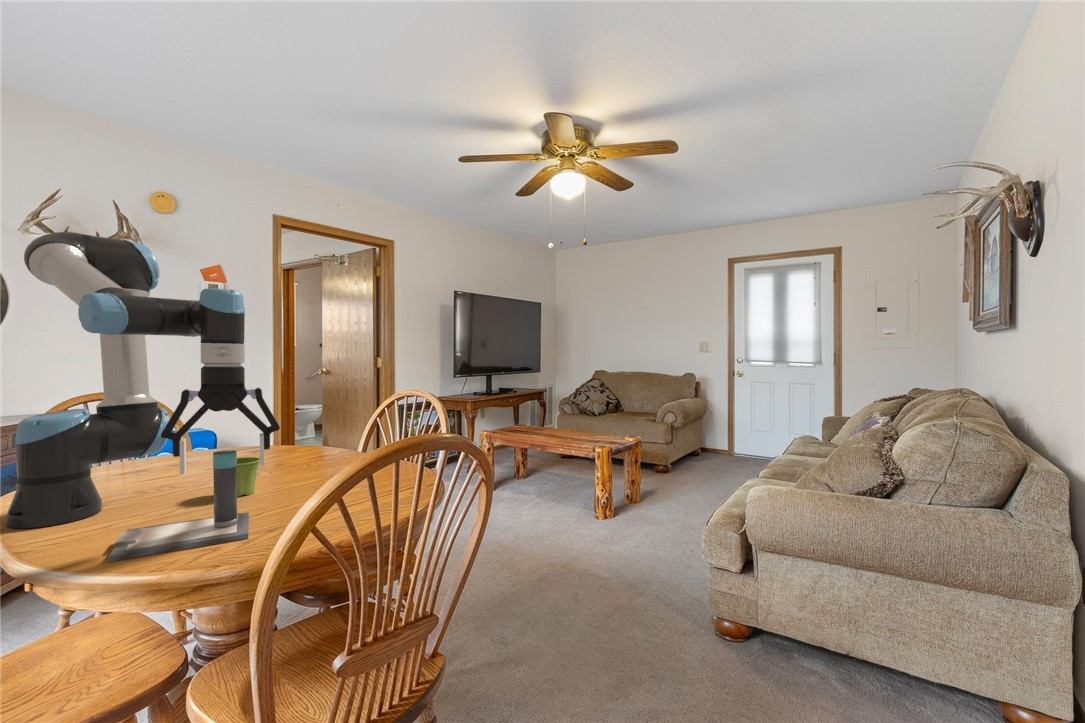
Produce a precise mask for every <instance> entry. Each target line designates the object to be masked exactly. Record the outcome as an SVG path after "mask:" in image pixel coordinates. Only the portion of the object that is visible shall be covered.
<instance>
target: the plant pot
mask: <svg viewBox="0 0 1085 723" xmlns="http://www.w3.org/2000/svg"><path fill="white" fill-rule="evenodd" d="M258 467H260V457H257V456H242V457H241V456H239V457H237V498H239V497H242V496H243V495H246V496H249V495H251V494H254V492H255V486H256V480H257V473H258Z"/></svg>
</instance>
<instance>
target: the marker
mask: <svg viewBox="0 0 1085 723" xmlns="http://www.w3.org/2000/svg"><path fill="white" fill-rule="evenodd" d="M237 452H238V451H237V450H234V449H224V450H218V451H213V453H212V468H213V517H214V527H215V528H227V527H231V526H234V525H236V524H237V514H238V497H237V458H238V454H237Z"/></svg>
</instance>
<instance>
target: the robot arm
mask: <svg viewBox="0 0 1085 723" xmlns="http://www.w3.org/2000/svg"><path fill="white" fill-rule="evenodd" d="M23 261H24V264H25V266H26V268H27V270H28V271H29V272H30V273H31V275H33V276H34V277H35V278H36V279H37V280H39V281H41V282H42V283H45V284H46V285H51V286H54V287H56V288H57V290H59V291H60V292H61V293H63V294H64V295H65V296H66V297H67V298H69V300H72V301H73V303H75V304H76V305H77V306H78V310H77V311H78V313H77V315H78V320H79V322H80V324H81V325H80V326H81V327H82V329H83V330H85V331H86V332H88V333H90V334H99V339H100V340H99V343H100V357H101V358H100V359H101V371H102V384H103V386H102V387H103V399H102V400H101V401H100V402H99V403H98V404H97V405H96V407H95V409H96V410H95V411H96V413H91V412H90V410H89V409H87V408H75V409H74V408H73V409H68V410H67V409H64V410H56V411H52V412H51V411H50V412H45V413H41V414H36V415H32V416H28V417H27V418H23V419H22V420H21V421H19V422H18V424H17V425H16V426H17V427H16V434H15V440H14V444H15V445H16V446H15V447H16V473H17V474H16V476H17V488H16V490H15V493H14V496H13V497H12V500H11V503H10V505H9V507H8V510H7V513H6V515H5V516H6V517H5V518H6V520H5V521H6V523H5V524H6V527H8V528H10V529H11V528H13V529H33V528H35V529H36V528H41V527H42V528H43V527H44V528H45V527H51V526H56V525H62V524H66V523H71V522H72V523H73V522H74V521H75V522H77V521H78V520H82V519H83V520H84V519H86V518H89V517H91V516H94V515H97V514H98V513H100V512H101V511H102V509H103V503H102V498H101V495H100V494H99V491H98V490H97V487H96V485H95V483H94V481H93V479H92V475H91V474H92V473H91V472H92V469H91V468H92V465H95V464H102V463H108V462H115V461H121V460H126V459H134V458H138V459H140V458H142V457H144V456H149V455H154V454H156V453H159V452H160V451H162V449H163V448H164V447H165V446H166V444H167V443H168V442H167V441H168V440H170V441H171V442H172V455H173V458H177V457H179V475H183V474H186V472H187V438H182V437H183V436H184V435H185V434H187V432H188V431H189V430H190V429H191V428H192V427H193V426H194V425H195V424H196V423H197V422H198V421H199V420H200V418H202V417H203V415H205V414H206V413H207V412H208V410H210V411H213V412H222V411H226V412H230V411H231V412H232V411H234V410H236V409H237V410H238V411H239V412H241V413H242V414H243V415H244V416H245V417H246V418H247V419H248V420H249V421H250V422H251V423H252V424H254V426H255V427H257V428H258V429H259V431H260V433H259V458H260V461H259V467H264V466H265V450H270V448H271V435H272V434H273V433H274V432H276V431H279V430H280V428H281V427H280V425H279V423H278V421H277V420H276V418H275V416H274V415H273V413H272V411H271V410H270V407H268V404H267V402H266V401H265V399H264V398H263V390H262V388H261V387H256V388H252V389H247V388H246V386H245V384H246V382H245V381H246V380H245V378H246V376H245V374H246V373H245V370H246V369H245V367H244V366H243V365H242V364H244V363H245V358H246V357H245V356H246V355H245V352H246V351H245V317H246V316H245V313H246V307H245V302H244V300H245V299H244V295H243V294H244V293H242V292H241V291H239V290H237V289H229V288H217V287H215V288H212V287H211V288H208V287H207V288H203V289H202V290H201V291H200V295H199V299H198V300H193V299H192V300H191V299H189V300H188V299H179V298H178V299H177V298H167V297H152V296H150V295H151V293H150V292H151V290H153V289H155V288H156V287H157V286H158V284H159V278H160V265H159V262H158V259H157V256H156V255H155V252H153V250H151V249H150V247H149V246H147V245H146V244H143V243H138V242H135V241H129V240H127V239H117V238H110V237H103V236H96V235H89V234H85V233H84V234H83V233H79V232H73V231H59V232H58V231H57V232H52V233H51V232H50V233H47V234H43V235H41V236H39V237H37V238H35V239H33V240H32V241H31V242H30V243H28V245H27V247H26V248H25V250H24V253H23ZM146 336H176V337H177V336H178V337H179V336H180V337H181V336H182V337H192V338H193V337H200V363H201V364H202V365H203V366H201V368H200V389H199V390H190V389H188V388H187V389H184V390H182V391H181V393H180V394H181V395H180V402H179V403H178V405H177V407H176V408H175V410H174V411H173V413H172V415H171V417H170V416H169V413H168V411H167V410H166V409H164V408H162V407H159V404H158V400H157V399H155V398H154V397H153V396H152V395H150V386H149V372H148V371H149V370H148V357H147V344H146V343H147V342H146ZM247 396H250V397H251V399H253V400H256V402H257V404H258V407H260V409H261V410H262V413H263V414H264V416H265V418H266V419H267V421H268V422H269V424H270V425H269V426H267V424H266V423H264V422H263V421H262V420H261V419H260V417H258V415H256V414H255V413H254V412H253V411H252V410H251V409H250V408H249V407H248V406H247V405H246V404H245V403H244V402H243V401H245V398H246V397H247ZM197 397H198V398H199V400H200V401H201V402H202V403H203V404H202V406H200V407H199V409H198V410H197V411H196V412H195V413H194V414H193V415H192V416H191V417H190V418H189V419H188V420H187V421H186V422H185V423H183V425H182V426H181V427H180V428H179V429H178V430H177V431H176V432H174V431H173V430H174V428H175V426H176V425H177V423H178V422H179V420H180V418H181V416H182V415H183V413H184V411H185V409H186V408H187V406H188V404H189V403H190V402H192V401H194V399H195V398H197Z"/></svg>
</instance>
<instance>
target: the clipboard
mask: <svg viewBox="0 0 1085 723" xmlns="http://www.w3.org/2000/svg"><path fill="white" fill-rule="evenodd" d="M249 514H250V513H249V511H246V512H241V513H237V524H236V525H234V526H231V527H227V528H215V527H214V516H212V517H205V518H197V519H192V520H191V519H190V520H184V521H177V522H169V523H164V524H157V525H155V524H154V525H150V526H144V527H143V526H141V527H136V528H129V529H127V530H125V531H124V532H121V534H120V535H119V536H118V538H117V539H116V541H115V542H114V548H113V549H112V551H111V552H110V554H109V555H108V562H109V563H111V562H116V561H121V560H127V559H135V558H139V557H141V558H142V557H147V556H152V555H158V554H159V555H160V554H164V553H168V552H170V553H171V552H176V551H182V550H189V549H193V548H194V549H195V548H199V547H206V546H211V545H218V544H225V543H230V542H236V541H241V540H242V541H243V540H249V527H250V526H249V521H250V520H249V518H250V515H249Z"/></svg>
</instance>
